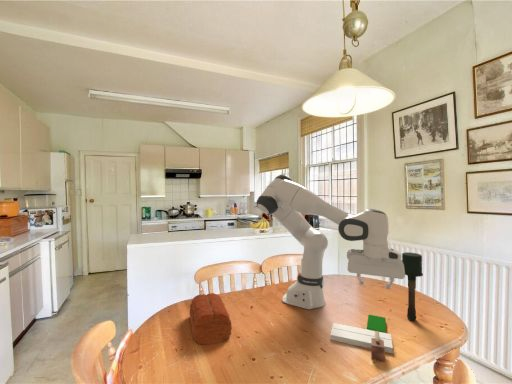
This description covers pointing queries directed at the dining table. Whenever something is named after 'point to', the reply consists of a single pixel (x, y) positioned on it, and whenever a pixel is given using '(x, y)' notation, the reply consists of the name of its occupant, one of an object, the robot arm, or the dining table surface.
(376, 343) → the block
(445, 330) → the dining table surface
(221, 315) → the bread
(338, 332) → the board
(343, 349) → the dining table surface
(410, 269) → the potato masher grenade
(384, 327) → the dish sponge
